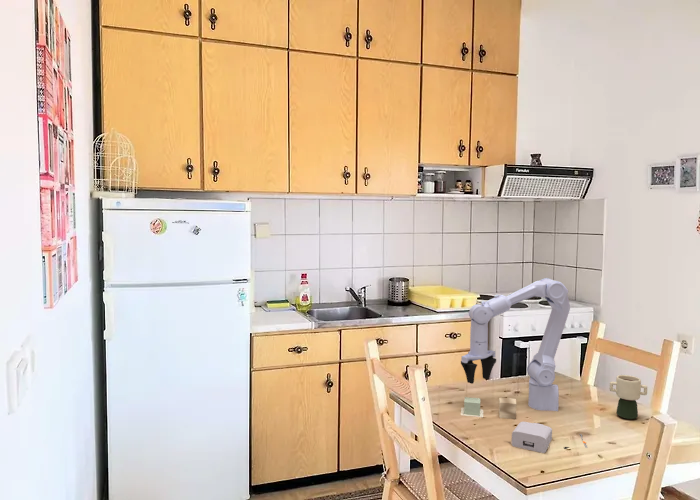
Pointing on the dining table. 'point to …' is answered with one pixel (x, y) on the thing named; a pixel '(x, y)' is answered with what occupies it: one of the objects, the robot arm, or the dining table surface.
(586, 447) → the key chain
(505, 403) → the maple block
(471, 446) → the dining table surface
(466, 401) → the sage base block
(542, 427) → the charger
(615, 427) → the dining table surface
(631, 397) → the trophy cup
